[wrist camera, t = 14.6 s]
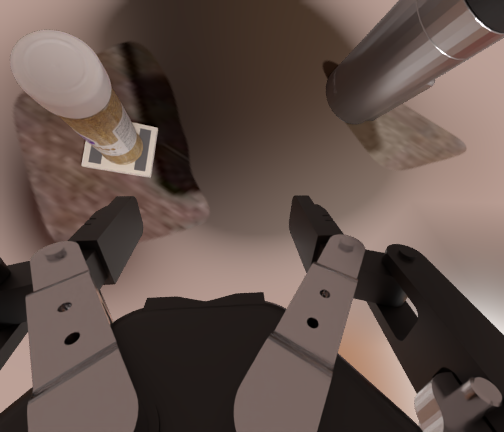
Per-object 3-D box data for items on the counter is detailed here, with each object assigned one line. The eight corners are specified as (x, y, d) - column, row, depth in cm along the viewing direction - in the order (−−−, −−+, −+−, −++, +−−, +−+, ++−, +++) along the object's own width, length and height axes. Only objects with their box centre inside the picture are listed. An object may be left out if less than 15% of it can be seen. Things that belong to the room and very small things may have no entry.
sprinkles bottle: (93, 157, 25) (-11, 81, 12) (108, 120, 25) (25, 9, 12) (136, 171, 26) (84, 116, 13) (150, 136, 26) (112, 49, 14)
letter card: (158, 129, 27) (157, 127, 27) (150, 177, 27) (150, 176, 26) (92, 115, 26) (90, 113, 25) (83, 166, 25) (81, 165, 24)
